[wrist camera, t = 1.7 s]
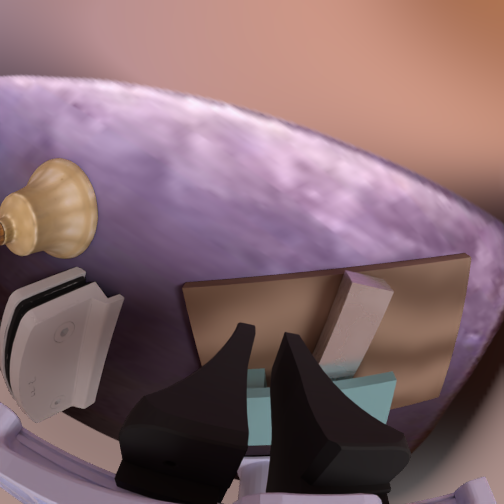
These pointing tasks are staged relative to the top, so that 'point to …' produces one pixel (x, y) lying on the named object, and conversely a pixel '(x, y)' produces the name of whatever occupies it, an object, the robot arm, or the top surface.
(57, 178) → the hand bell
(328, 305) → the base plate
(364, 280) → the link
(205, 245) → the top surface
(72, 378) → the hinge
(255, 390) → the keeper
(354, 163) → the top surface
